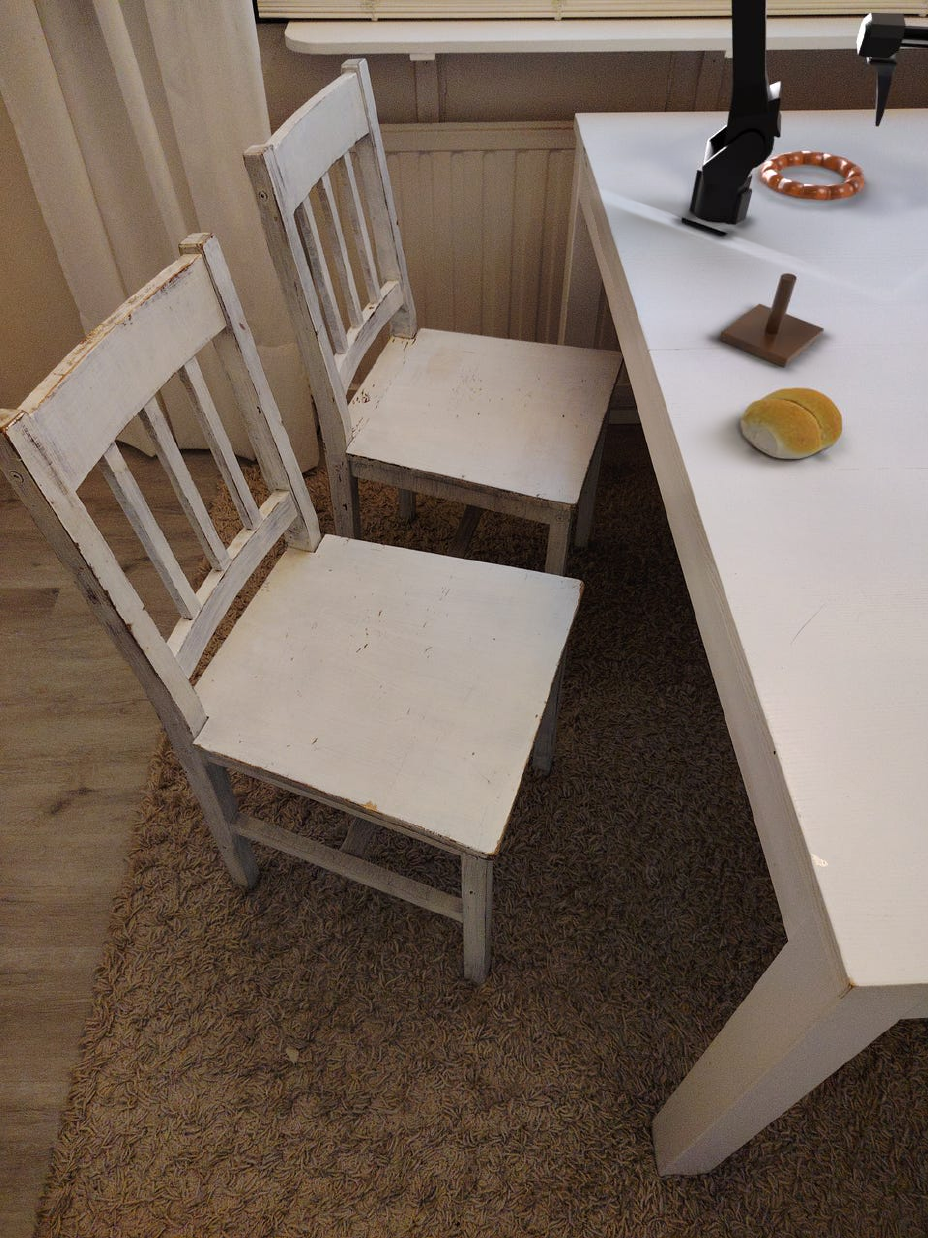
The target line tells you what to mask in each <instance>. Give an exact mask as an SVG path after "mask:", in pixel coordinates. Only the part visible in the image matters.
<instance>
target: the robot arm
mask: <svg viewBox="0 0 928 1238" xmlns="http://www.w3.org/2000/svg"><path fill="white" fill-rule="evenodd" d="M731 44H732V45H731V49H732V53H731V55H732V57H731V59H732V87H731V94H730V100H729V108H728V116H727V120H726V121H727V122H726V124H725V125H724V126H723V127H722V128H720V129H719V130H718V131H717V132H716V133H715V134H714V135H712V136H711V137H710V138H708V140H707V141H706V145H705V150H704V155H703V156H704V157H703V161H702V165H701V166H700V167H698V168H697V169H696V174H695V179H694V183H693V184H694V186H693V189H692V195H691V199H690V205H689V212H692V213H693V214H694V216H695V217H697V219H699V220H702V221H704V222H708V223H713V224H727V225H732V226H736V225H738V224H739V223H741V222H742V221H744V220H745V219H747V215H748V210H749V206H750V202H751V199H752V193H753V188H751V183H752V181H753V175H754V174H753V173H752V172H753V170H754V169H756V168H758V167H759V166H761V165H763V164H764V163H765V162H766V161H767V160H768V158H769V157H770V156H771V155H772V154H773V153H772V152H773V150H774V145H775V138H777V139H780V138H781V137H782V136H781V135H782V113H781V111H780V109H781V103H782V85H783V84H782V83H783V82H782V81H777V82H775V83H773V84H770V80H769V75H768V71H767V0H731ZM901 48H911V49H927V50H928V26H922V25H907V24H906V20H905V16H904V14H903V13H902V14H901V13H887V12H886V13H884V12H869V14H867V16H865V18H863V21H862V22H861V25H860V28H859V31H858V35H857V38H856V50H857V56H860V57H862V58H866V63H867V65H868V66H870V67H875V74H876V76H875V77H876V86H875V87H876V89H875V91H876V92H875V112H874V126H875V127H877V128H878V127H879V126H880V125H881V122H882V121H883V116H884V114H885V110H886V106H887V101H888V97H889V94H890V89H891V87H892V81H893V77H894V74H895V72H896V68H897V67H898V66H897V65H898V58H897V54H896V53H898V52H899V51H900V49H901ZM680 222H681V223H683V224H685V225H688V226H691V227H694V228H697V229H698V230H699V229H700V230H703V231H705V232H708V233H710V234H714V235H716V236H718V237H719V236H720V237H724V236H726V235H727V234H728V232H725V231H722V230H721V229H718V228H714V227H711V226H708V225H706V224H702V223H700V222H697V221H695V220H692V219H688V218H685V217H681V220H680Z"/></svg>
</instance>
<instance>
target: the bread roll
mask: <svg viewBox="0 0 928 1238" xmlns="http://www.w3.org/2000/svg"><path fill="white" fill-rule="evenodd" d="M740 426H741V427H740V428H741V431H742V434H743V436H744V438H745V439H746V440H747V441H749V442H750V443H751V444H752V445H753V446H754V447H755V448H757V449H758V450H760V451H761V452H763V453H764V454H767V455H769V456H771V457H773V458H778V459H789V460H791V459H794V460H796V459H797V460H799V459H804V458H806V457H809V456H811V455H814V454H816V453H818V452H820V451H821V450H824V449H826V448H829V447H830V446H832V445H834V444H835V443H837V442H838V441H839V439H840V438H841V434H842V432H843V418H842V414H841V411H840V409H839V408H838V406H837V405H836V404H835V403H834V401H833V400H832V399H831V398H830V397H829V396H827V395H826V394H824V393H822V392H820V391H818V390H816V389H813V388H807V387H791V388H790V387H789V388H780V389H778V390H774V391H773V392H770V393H769V394H767V395H765V396H763V397H762V398H760V399H758V400H755V401H753V402H752V403H750V404H749V405H748V406H747V407H746V409H745V411H744V412H743V414H742V416H741V418H740Z"/></svg>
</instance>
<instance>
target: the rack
mask: <svg viewBox="0 0 928 1238" xmlns="http://www.w3.org/2000/svg"><path fill="white" fill-rule="evenodd" d="M797 278H798V277H797V276H796V275H795V274H794V273H790V272H787V273H786V272H785V273H782V274H781V275H780V277H779V282H778V285H777V288H776V291H775V294H774V297H773V301H772V304H771V307H770V306H767V305H765V304H762V303H758V304H757V305H755V306H754V307H753V308H751V309H750V310H749V311H747V312H745V313H744V314H743V315H742V316H740V317H739V318H737V320H735V321H733V322H732V323H731V324H730V325H728V326H726V327H725V328H724V329H723V330H721V332H720V334H719V338H718V340H719V341H721V342H724V343H725V344H728V345H729V346H733V347H735V348H737V349H740V350H742V351H744V352H746V353H750V354H751V355H754V356H757V357H759V358H761V359H762V360H763V359H764V360H766V361H768V362H771V363H772V364H775V365H777V366H780V367H782V368H785V367H787V366H788V365H789V364H790V363H791V362H792V361H794V360H795V359H796V358H797V357H799V356H800V355H801V354H802V353H804V352H805V351H806V350H807V349H808V348H809V347H811V346H812V345H813V344H814V343H815V342H817V341H818V340H819V339H821V338H822V335H823V333H824V330H825V328H823V327H821V326H819V325H815V324H813V323H811V322H808V321H805V320H803V319H800V318H798V317H796V316H794V315H793V316H792V315H791V314H788V313H787V311H788V308H789V306H790V305H789V304H790V301H791V299H792V296H793V292H794V288H795V285H796V282H797Z"/></svg>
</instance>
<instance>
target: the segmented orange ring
mask: <svg viewBox="0 0 928 1238" xmlns="http://www.w3.org/2000/svg"><path fill="white" fill-rule="evenodd" d="M761 165H762V166H761V168H760V181H761V182H763V183H764V184H765V185H767V186H768V187H769V188H770V189H772V190H774V191H775V192H778V193H781V194H784V195H787V196H791V197H793V198H796V199H797V198H798V199H803V200H805V199H806V200H818V201H833V200H839V199H845V198H851V197H853V196H855V195H856V194H858V193H859V192H860V191H862V190H863V189H864V188H865V187H866V179H865V173H864V170H863V168H861V167H860V166H859V165H858V164H855V163H854V162H853V161H851V160H849V159H848V158H846V157H842V156H839V155H834V154H832V153H828V152H823V151H810V150H809V151H808V150H797V151H791V152H784V153H779V154H777V155H775V156H773V157H772V158H770V159H768V160H766V161H765V162H764V163H762V164H761ZM802 165H804V166H815V167H816V166H819V167H822V168H826V169H828V170H829V169H830V170H833V171H835V172H837V173H838V174H840V175H841V176H843V177H844V180H845V181H844V182H842V183H836V184H829V185H823V184H821V185H819V184H809V183H808V184H807V183H802V182H799V181H795V180H792V179H789V178H786V176H783V175H782V174H781V173H780V172H781V171H782V170H784V169H786V168H788V167H795V166H802Z"/></svg>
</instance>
